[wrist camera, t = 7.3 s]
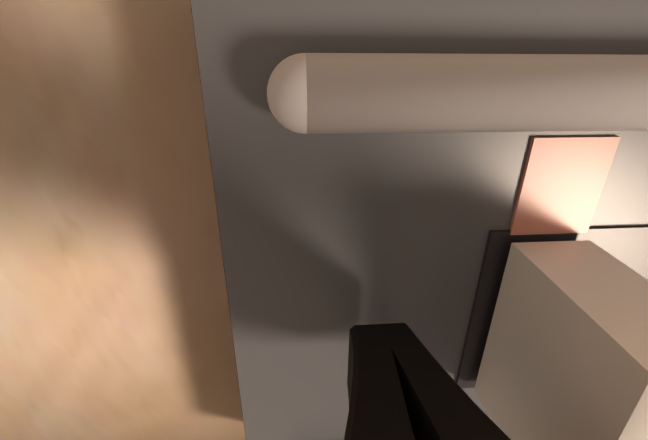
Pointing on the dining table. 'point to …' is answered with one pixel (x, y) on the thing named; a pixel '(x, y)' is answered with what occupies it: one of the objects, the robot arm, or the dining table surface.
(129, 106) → the dining table surface
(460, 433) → the robot arm
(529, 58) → the pair of cream rails
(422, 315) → the box
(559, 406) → the lever
